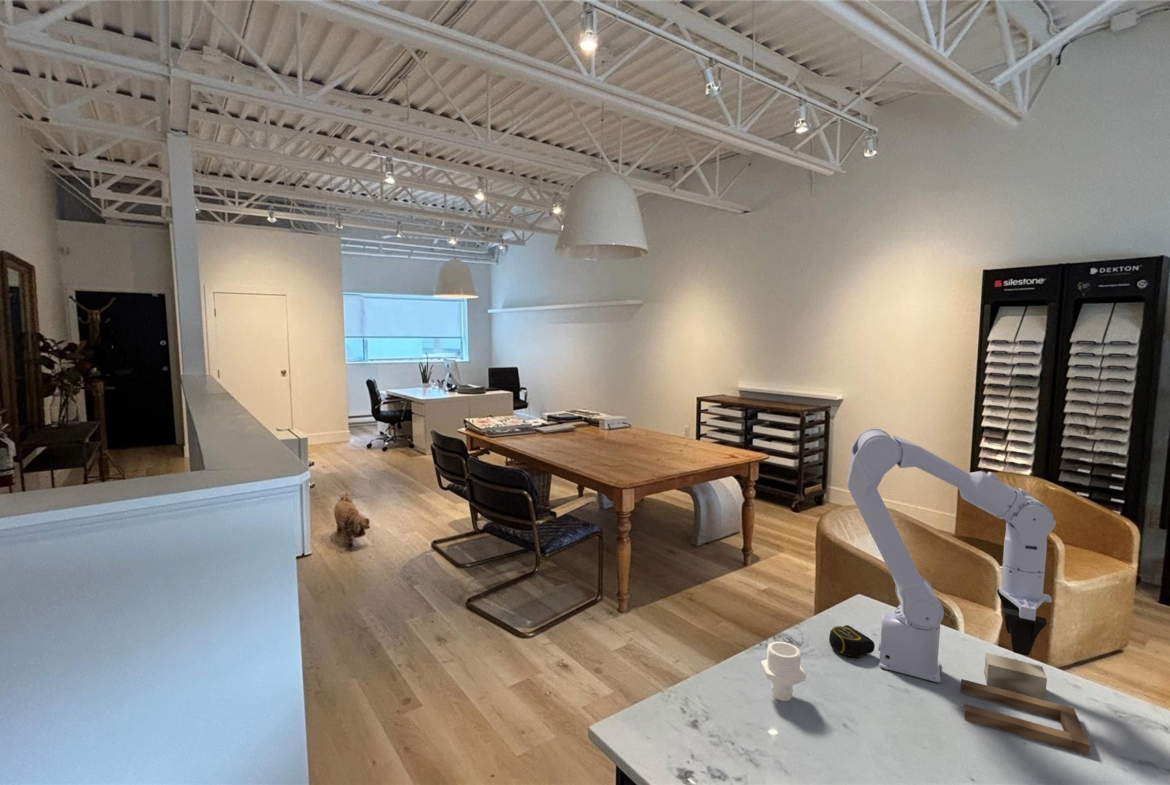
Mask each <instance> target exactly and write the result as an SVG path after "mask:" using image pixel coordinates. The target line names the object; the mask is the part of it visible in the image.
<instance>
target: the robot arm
mask: <svg viewBox="0 0 1170 785" xmlns="http://www.w3.org/2000/svg"><path fill="white" fill-rule="evenodd" d="M850 454H851V455H850V460H849V464H848V465H849V466H848V471H847V477H846V485H847V488H848V490H849V493H850V494H851V497H852V498H853V500H854V502H855V504H856V506H857V509H858V511H859V513H860V515H861V517H862V519H863V521H864V523H865V524H866V527H867V528H868V531H869V533H870V535H871V538H873V541H874V543H875V545H876V548H877V549H878V551H879V553H880V555H881V557H882V560H883V561H884V563H885V565H886V568H887V570H888V571H889V574H890V575H891V577H892V580H893V582H894V584H895V589H894V590H895V595H896V598H897V599H898V601H899V605H898V606H897V608H896V609H895V610H894V612H886V611H884V612H882V621H881V633H880V635H881V636H880V640H879V641H878V652H880V653H879V665H878V666H879V667H880V668H882V669H884V670H889V671H893V672H897V673H900V674H905V675H908V676H911V677H915V678H919V679H923V680H926V681H931V682H934V683H938V684H939V683H941V670H940V668H941V667H940V660H939V648H940V647H939V646H940V634H941V623H942V621H943V619H944V616H945V610H944V609H945V608H944V606H943V605H942V603H941V601H940V600H939V599H938V597H937V595H936V593H935V591H934V589H933V586H932V584H931V583H930V582H929V581H928V580H927V579H926V578H924V577H923V576H922V575H921V573H920V572H919V569H917V566H916V564H915V562H914V560H913V558H912V556H911V555H910V552H909V550H908V549H907V548H908V547H907V546H906V544H905V542H904V540H903V539H902V538H903V537H902V536H901V534H900V532H899V530H898V528H897V526H896V525H895V523H894V521H893V518H892V516H891V514H890V512H889V510H888V508H887V506H886V504H885V503H884V500H883V498H882V496H881V494H880V492H879V491H878V487H879V485H880V484H881V481H882V480H883V478H884V477H885V474H887V473H888V472H889V471H890V470H892V469H893V468H894V467H895V466H896V465H897V466H898V467H899V469H904V468H905V469H907V468H918V469H919V470H921V471H923V472H925V473H928V474H930V475H932V476H934V477H936V478H937V479H939V480H941V481H943V482H945V483H947V484H949V485H951V486H954V488H955V487H956V488H957V489H958V490H959V495H960V497H961V499H962V500H963V501H966V502H968V503H969V504H971V505H973V506H975V507H977V508H979V509H981V510H983V511H984V512H986V513H988V514H990V515H992V516H994V517H995V518H997V519H999V520H1005V522H1006V523H1005V536H1004V542H1003V553H1002V554H1003V555H1002V568H1001V581H1000V582H1001V583H1000V585H999V589H996V593H997V595H998V597H999V600H1000V601H1001V605H1002V612H1003V616H1004V624H1005V629H1006V632H1007V634H1010V641H1011V647H1012V651H1013V653H1014V654H1019V655H1023V656H1030V654H1031V652H1032V650H1033V647H1034V644H1035V641H1036V639H1037V637H1038V636H1039V634H1040V632H1041V631H1042V630H1043V629H1044V628H1045V627H1047V626H1046V625H1047V624H1048V621H1047V619H1046V617H1042V616H1036V615H1037V609H1038V608H1039V607H1040V606H1041V605H1042V604H1043V603H1052V602H1053V600H1052V599H1053V598H1052V597H1051V596H1050V594H1048V593H1044V587H1045V586H1044V584H1045V572H1046V562H1047V548H1048V544H1047V543H1048V536H1049V534H1050V533H1051V532H1053V530H1055V527H1056V525H1057V521H1056V520H1055V519H1054V518H1055V517H1054V514H1053V512H1052V510H1051V509H1050V508H1049V507H1048V505H1046V504H1044V503H1042V502H1041V501H1039V500H1037V499H1036V498H1034V497H1032V496H1031V495H1030V494H1028V491H1026V490H1025V489H1022V488H1020V487H1019V488H1018V489H1016V488H1014V487H1013V486H1011V485H1008V484H1006V482H1004V481H1000V480H999V475H996V474H995V473H993V472H992V471H988V472H987V473H986V472H983V471H981V470H980V471H979V470H978V471H974V472H973V471H972V472H967V471H965V470H963V469H962V468H960V467H958V466H956V465H954V464H952V462H949V461H947V460H945V459H943V458H941V457H940V456H939V455H937V454H934V453H933V452H931V451H929V450H927V449H926V448H924V447H923V446H920V445H918V444H916V443H914V442H912V441H910V440H907V439H905V438H903V437H900V436H897V435H894V434H892V437H891V435H890V434H889V433H888V432H886V431H885V430H882V429H879V428H869V429H866V430H864V431H863V432H861V433H860V434H859V435H858V437H857V439H856V440H855V442H854V443H853V445H852V447H851V452H850Z"/></svg>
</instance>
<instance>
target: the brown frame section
mask: <svg viewBox="0 0 1170 785" xmlns="http://www.w3.org/2000/svg"><path fill="white" fill-rule="evenodd" d="M960 692H961V694H963V695H967V696H970V697H973V698H974V697H975V698H978V699H981V700H982V699H983V700H985V701H989V702H993V703H997V704H1000V705H1004V706H1007V707H1012V708H1015V709H1018V710H1023V711H1026V712H1030V713H1034V714H1037V715H1042V716H1044V717H1048V718H1052V719H1056V720H1059V721H1060V724H1061V727H1062V729H1063V730H1062V729H1058V728H1053V727H1050V726H1048V725H1044V724H1039V723H1037V722H1033V721H1028V720H1025V719H1023V718H1018V717H1016V716H1015V717H1014V716H1011V715H1009V714H1004V713H1001V712H997V711H992V710H988V709H986V708H982V707H978V706H975V705H972V704H967V703H963V704H964V705H963V717H964V720H966V721H970V722H973V723H976V724H979V725H984V726H987V727H991V728H993V729H997V730H1001V731H1005V732H1008V733H1011V734H1015V735H1017V736H1021V737H1024V738H1028V739H1032V740H1035V741H1039V742H1041V743H1047V744H1050V745H1053V746H1056V747H1059V748H1064V749H1066V750H1070V751H1073V752H1077V753H1081V754H1083V755H1086V756H1090V750H1091V745H1090V742H1089V740H1088V738H1087V735H1086V733H1085V730H1084V728H1083V726H1082V724H1081V722H1080V720H1079V717H1078V715H1077V712H1076V710H1075V708H1074V707H1070V706H1068V705H1063V704H1059V703H1055V702H1052V701H1048V700H1046V699H1045V700H1041V699H1038V698H1034V697H1030V696H1026V695H1022V694H1018V693H1015V692H1011V691H1007V690H1003V689H999V688H995V687H992V686H988V685H987V684H982V683H978V682H975V681H971V680H967V679H962V678H961V680H960Z"/></svg>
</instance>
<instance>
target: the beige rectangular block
mask: <svg viewBox="0 0 1170 785" xmlns="http://www.w3.org/2000/svg"><path fill="white" fill-rule="evenodd" d="M984 661H985V662H984V670H983V671H984V672H983V673H984V674H983V675H984V678H985V683H986V684H985V685H987V686H991V687H995V688H998V689H1002V690H1006V691H1010V692H1014V693H1018V694H1021V695H1025V696H1029V697H1033V698H1037V699H1041V700H1045V701H1046V697H1047V696H1046V693H1047V684H1048V683H1047V682H1048V678H1047V675H1046V672H1045V670H1044V667H1043V665H1040V664H1034V663H1031V662H1026V661H1023V660H1020V659H1019V660H1018V659H1014V658H1011V657H1010V658H1009V657H1007V656H1006V657H1005V656H1001V655H997V654H993V653H990V652H985V660H984Z"/></svg>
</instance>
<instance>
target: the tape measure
mask: <svg viewBox="0 0 1170 785" xmlns="http://www.w3.org/2000/svg"><path fill="white" fill-rule="evenodd" d="M828 641H829V644H830V647H831V648H832V649H833V650H834V651H836V652H838V653H840V654H842V655H844V656H848V657H853V658H861V657H863V656H866V655H869V654H871V653H873V652H874V651H875V646H876V644H875V642H874V641H873V640H872V639H871V638H870V637H868V636H867V635H865V634H863V633H862V632H860V631H858V630H857V629H855V628H854V627H852V626H850V625H849V624H847V625H845V624H844V626H841V625H838V626H834V627H833V628H832V629H831V630H830V633H829V639H828Z"/></svg>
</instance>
